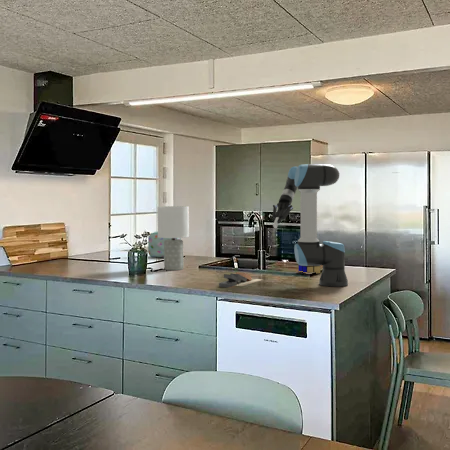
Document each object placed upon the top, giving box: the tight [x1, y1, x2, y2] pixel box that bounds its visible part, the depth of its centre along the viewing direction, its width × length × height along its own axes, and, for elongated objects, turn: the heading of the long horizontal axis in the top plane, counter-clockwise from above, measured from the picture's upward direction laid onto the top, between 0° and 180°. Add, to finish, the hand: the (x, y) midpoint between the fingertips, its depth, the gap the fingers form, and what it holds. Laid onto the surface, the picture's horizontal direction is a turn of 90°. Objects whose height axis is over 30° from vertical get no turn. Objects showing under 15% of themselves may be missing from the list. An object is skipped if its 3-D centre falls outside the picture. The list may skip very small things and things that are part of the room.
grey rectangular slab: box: [223, 273, 241, 283], centre depth 284 cm, size 2×5×10 cm
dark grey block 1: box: [218, 280, 237, 289], centre depth 280 cm, size 2×5×10 cm
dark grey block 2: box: [229, 273, 247, 282], centre depth 289 cm, size 2×5×10 cm
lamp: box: [156, 205, 190, 271], centre depth 349 cm, size 21×21×42 cm
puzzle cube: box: [298, 264, 321, 275], centre depth 328 cm, size 10×10×10 cm
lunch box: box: [147, 231, 182, 259], centre depth 419 cm, size 27×10×21 cm, turn 74°
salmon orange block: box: [235, 271, 253, 280], centre depth 294 cm, size 2×5×10 cm
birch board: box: [233, 278, 264, 287], centre depth 293 cm, size 14×25×1 cm, turn 149°
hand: (274, 226), depth 308 cm, fingers closed
